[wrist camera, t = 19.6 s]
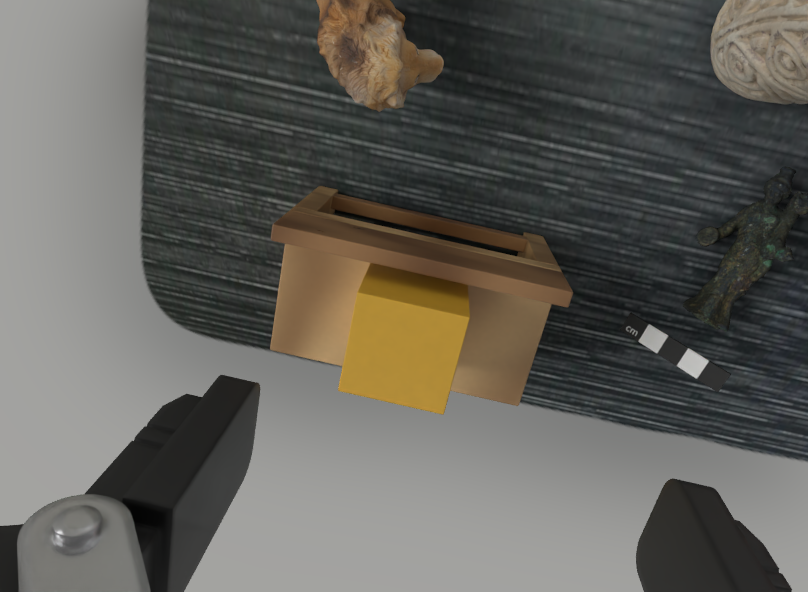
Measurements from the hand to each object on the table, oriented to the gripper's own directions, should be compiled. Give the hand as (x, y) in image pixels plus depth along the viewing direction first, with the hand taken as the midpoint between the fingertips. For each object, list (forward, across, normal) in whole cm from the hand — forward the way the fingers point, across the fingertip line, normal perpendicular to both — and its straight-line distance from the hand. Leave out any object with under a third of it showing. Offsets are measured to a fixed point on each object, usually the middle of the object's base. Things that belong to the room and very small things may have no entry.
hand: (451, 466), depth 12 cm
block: (+19, +1, +5) cm, 20 cm away
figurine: (+26, -15, 0) cm, 30 cm away
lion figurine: (+26, +8, -10) cm, 29 cm away
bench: (+26, +2, +5) cm, 27 cm away
